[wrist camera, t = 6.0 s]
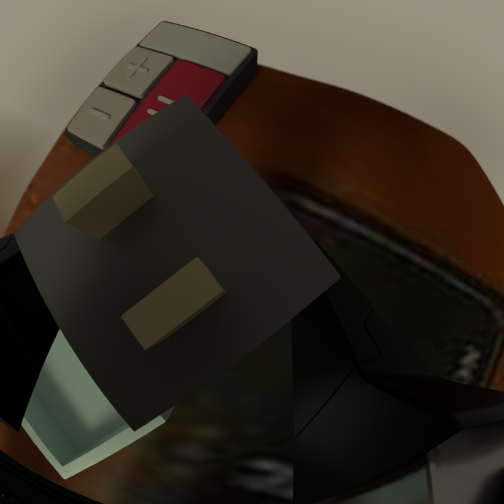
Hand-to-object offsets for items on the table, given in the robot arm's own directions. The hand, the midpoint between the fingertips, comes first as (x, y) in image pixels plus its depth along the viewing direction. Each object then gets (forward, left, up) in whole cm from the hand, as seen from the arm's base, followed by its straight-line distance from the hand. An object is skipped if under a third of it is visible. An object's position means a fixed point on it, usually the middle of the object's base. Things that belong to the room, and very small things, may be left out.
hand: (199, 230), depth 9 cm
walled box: (0, +15, -13) cm, 20 cm away
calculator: (+15, -5, -14) cm, 21 cm away
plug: (-1, +1, -7) cm, 7 cm away
